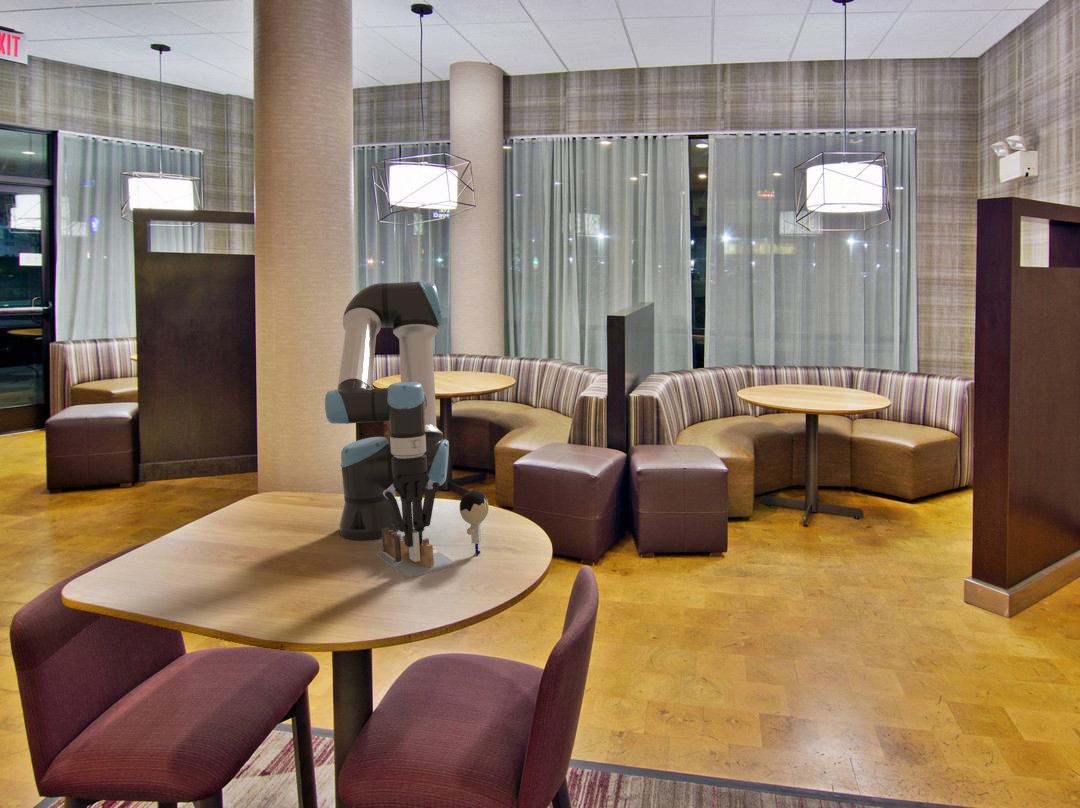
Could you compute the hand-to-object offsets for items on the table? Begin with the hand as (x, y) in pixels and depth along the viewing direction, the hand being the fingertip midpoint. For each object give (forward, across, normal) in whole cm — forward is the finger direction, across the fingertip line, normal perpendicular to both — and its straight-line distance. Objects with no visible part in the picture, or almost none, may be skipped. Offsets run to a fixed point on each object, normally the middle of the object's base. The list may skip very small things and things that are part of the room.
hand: (414, 559), depth 169 cm
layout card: (+2, +3, +5) cm, 6 cm away
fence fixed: (+2, -1, +10) cm, 11 cm away
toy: (+2, +15, -1) cm, 15 cm away
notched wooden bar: (+2, +1, +1) cm, 2 cm away
